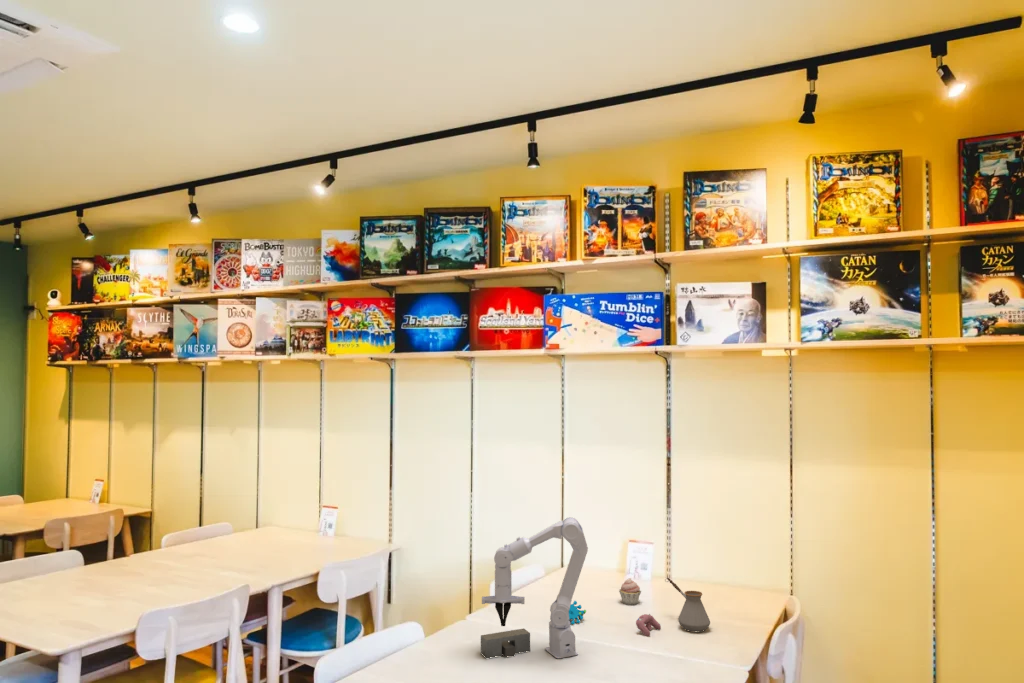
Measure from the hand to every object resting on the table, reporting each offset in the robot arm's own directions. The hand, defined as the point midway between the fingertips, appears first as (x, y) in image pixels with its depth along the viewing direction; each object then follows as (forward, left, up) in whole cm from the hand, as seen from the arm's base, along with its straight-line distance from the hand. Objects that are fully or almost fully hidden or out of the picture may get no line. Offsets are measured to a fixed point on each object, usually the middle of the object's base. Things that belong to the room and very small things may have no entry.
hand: (503, 625), depth 232 cm
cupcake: (+26, -68, -9) cm, 74 cm away
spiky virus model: (+16, -35, -9) cm, 40 cm away
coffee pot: (-5, -72, -9) cm, 73 cm away
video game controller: (-5, -55, -9) cm, 56 cm away
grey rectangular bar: (0, 0, -9) cm, 9 cm away
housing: (-2, 0, -9) cm, 9 cm away
